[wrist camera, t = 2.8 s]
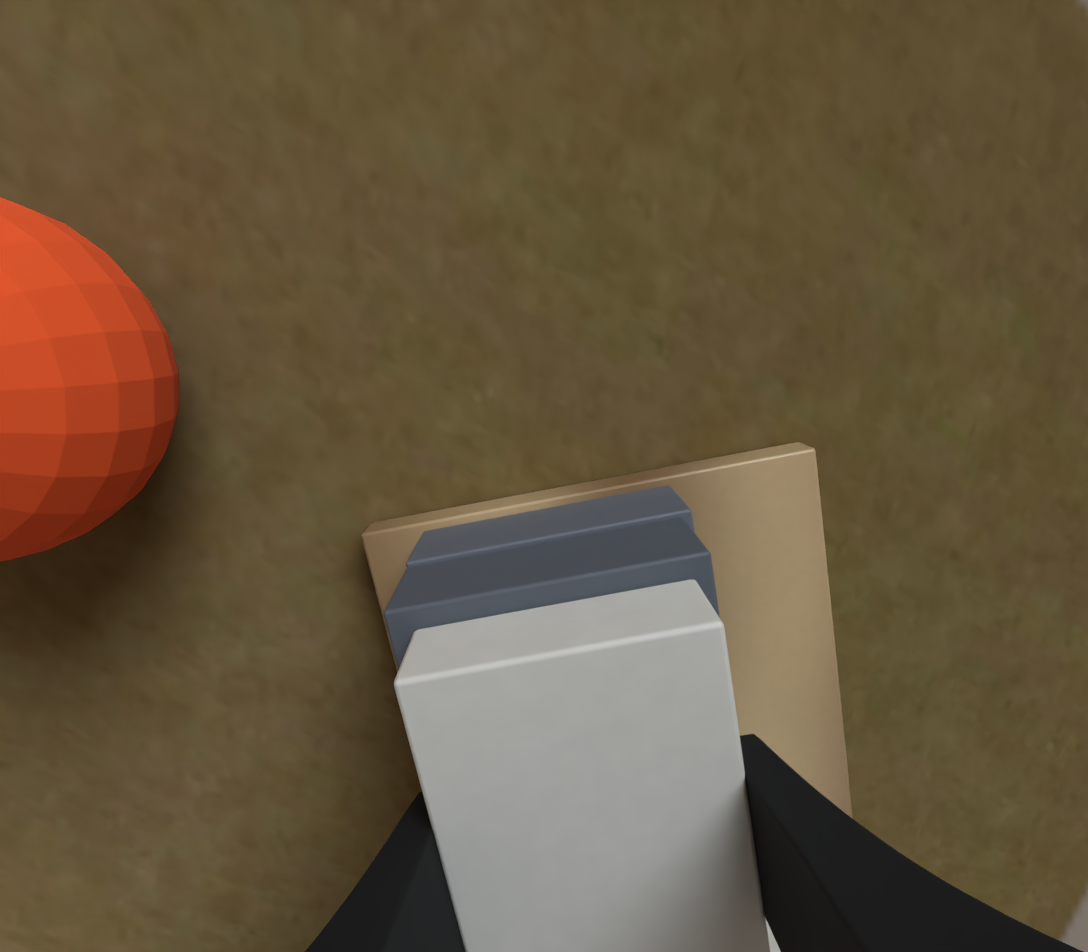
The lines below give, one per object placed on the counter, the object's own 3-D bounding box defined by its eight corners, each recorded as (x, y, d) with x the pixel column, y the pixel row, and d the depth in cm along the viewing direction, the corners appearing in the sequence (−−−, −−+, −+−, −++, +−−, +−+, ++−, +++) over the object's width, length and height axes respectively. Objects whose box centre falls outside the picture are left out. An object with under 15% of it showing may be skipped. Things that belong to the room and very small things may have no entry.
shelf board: (799, 441, 16) (816, 447, 15) (861, 1018, 20) (877, 1052, 19) (369, 522, 17) (359, 534, 16) (514, 1074, 21) (513, 1111, 20)
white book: (695, 576, 11) (725, 621, 10) (751, 947, 13) (784, 1043, 11) (413, 628, 11) (390, 682, 10) (504, 988, 13) (500, 1089, 11)
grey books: (670, 483, 15) (722, 543, 11) (719, 806, 17) (780, 963, 13) (422, 530, 16) (379, 606, 11) (499, 845, 18) (486, 1011, 13)
